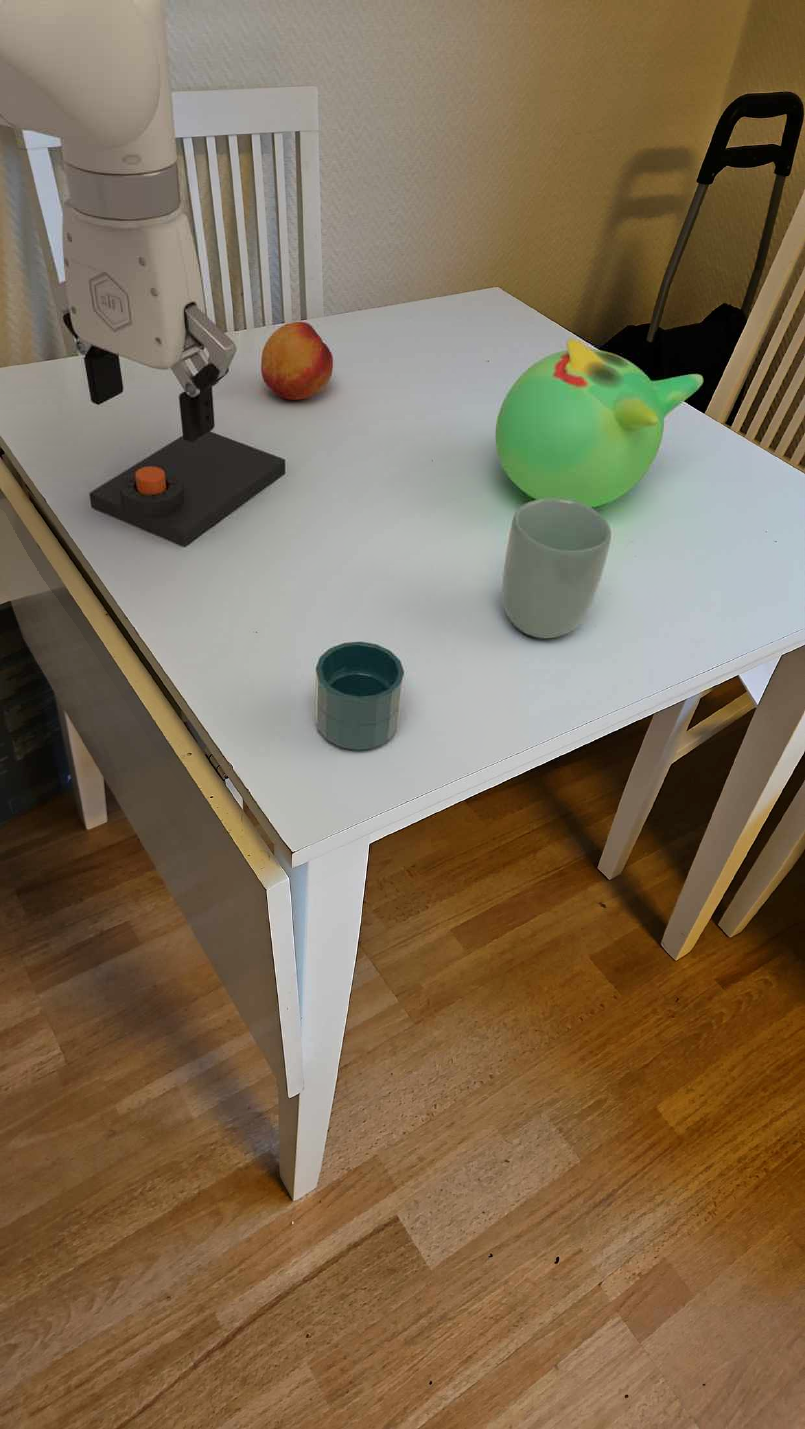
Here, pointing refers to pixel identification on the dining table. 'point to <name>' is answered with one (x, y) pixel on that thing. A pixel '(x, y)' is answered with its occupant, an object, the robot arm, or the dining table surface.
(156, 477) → the button
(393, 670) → the teal hollow faceted cylinder
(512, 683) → the dining table surface
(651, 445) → the toy bird
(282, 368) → the fruit
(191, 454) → the scale
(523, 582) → the cup
